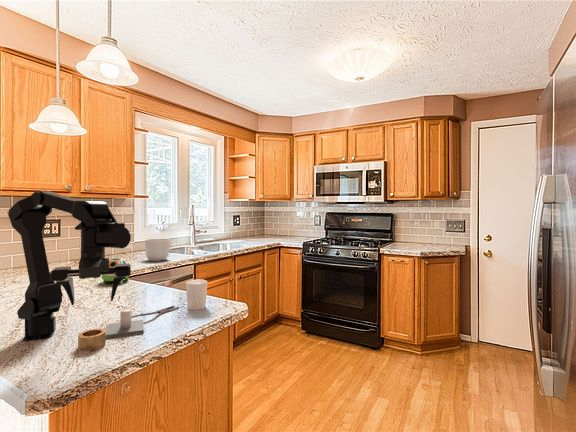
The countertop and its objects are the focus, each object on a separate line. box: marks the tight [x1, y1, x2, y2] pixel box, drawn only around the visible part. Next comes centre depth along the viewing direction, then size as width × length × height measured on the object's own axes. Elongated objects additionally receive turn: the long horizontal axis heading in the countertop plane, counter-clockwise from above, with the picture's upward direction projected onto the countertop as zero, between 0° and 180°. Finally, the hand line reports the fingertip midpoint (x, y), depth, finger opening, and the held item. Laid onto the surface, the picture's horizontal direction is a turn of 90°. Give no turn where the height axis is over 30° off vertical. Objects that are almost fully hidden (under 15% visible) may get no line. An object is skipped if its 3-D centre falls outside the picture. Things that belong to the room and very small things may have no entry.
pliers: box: [131, 305, 180, 325], centre depth 115 cm, size 10×1×20 cm
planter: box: [144, 238, 171, 262], centre depth 233 cm, size 17×17×15 cm
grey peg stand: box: [106, 308, 145, 339], centre depth 100 cm, size 10×10×6 cm
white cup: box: [185, 279, 208, 311], centre depth 124 cm, size 8×8×10 cm
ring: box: [77, 328, 107, 352], centre depth 89 cm, size 6×6×4 cm
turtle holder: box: [101, 257, 130, 285], centre depth 167 cm, size 12×18×12 cm
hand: (92, 302), depth 89 cm, fingers open, 9 cm apart
